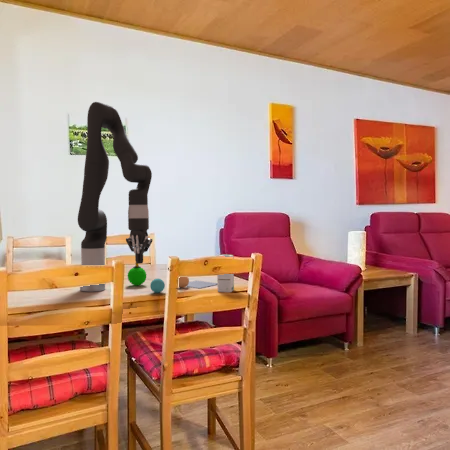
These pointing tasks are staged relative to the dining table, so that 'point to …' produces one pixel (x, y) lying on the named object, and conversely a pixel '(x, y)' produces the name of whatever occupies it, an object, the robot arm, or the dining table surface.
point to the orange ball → (183, 282)
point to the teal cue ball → (157, 285)
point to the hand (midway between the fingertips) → (139, 263)
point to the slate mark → (200, 284)
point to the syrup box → (225, 281)
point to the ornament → (137, 275)
